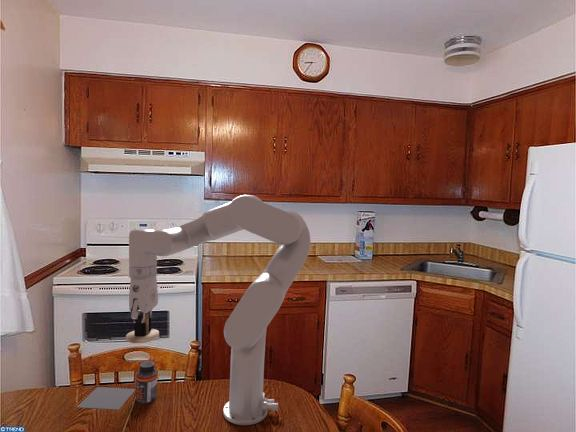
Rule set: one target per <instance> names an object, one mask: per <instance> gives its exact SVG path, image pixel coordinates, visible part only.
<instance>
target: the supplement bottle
mask: <svg viewBox="0 0 576 432" xmlns="http://www.w3.org/2000/svg"><path fill="white" fill-rule="evenodd" d="M135 389H136V390H135V398H134V399H135V402H136V403H137V404H148V403H149V404H150V403H152V402H153V401H154V402H155V400H156V399H157V397H158V396H157V395H158V390H157V389H158V370H157V369H156V368H155V362H154V361H151V360H149V361H148V360H147V361H143V362H141V363H140V364H139V370H138V371H137V372H136V374H135Z"/></svg>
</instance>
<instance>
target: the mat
mask: <svg viewBox="0 0 576 432" xmlns="http://www.w3.org/2000/svg"><path fill="white" fill-rule="evenodd" d="M135 392H136V388H123V387H122V388H121V387H105V386H104V387H103V386H97V387H96V388H94V390H93V391H91V392H90V394H88V395H87V396H86V397H85V398H84V399H83V400H82V401H81V402H80V403H79V404H78V405H77V406H76V408H80V409H82V408H83V409H96V410H97V409H101V410H114V411H115V410H121V408H122V407H123V405H125V404H126V402H127V401H128V400H129V398H130V397H131V396H132V395H133V393H135Z"/></svg>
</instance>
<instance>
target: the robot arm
mask: <svg viewBox="0 0 576 432" xmlns="http://www.w3.org/2000/svg"><path fill="white" fill-rule="evenodd" d="M242 230H245V231H246V232H249V233H251V234H254V235H256V236H259V237H260V238H263V239H265V240H267V241H271V242H272V243H275V244H278V245H279V246H278V247H277V250H276V251H275V253H274V254H273V256H272V257H271V259H270V260H269V262H268V264H267V265H266V266H265V268H264V270H263V271H262V273H260V274H259V276H257V277H256V278H255V279H254V281H253V282H252V283H251V284H250V285H249V286H248V287H247V289H246V291H245V292H244V294H243V295H242V296H241V297H240V300H239V302H238V303H237V304H236V306H235V307H234V309H233V311H232V312H231V314H230V315H229V317H228V318H227V319H226V321H225V324H224V327H223V336H224V340H225V341H226V343H227V345H228V346H229V347H230V348H231V349H230V374H229V394H228V395H229V396H228V397H229V398H228V399H229V401H228V402H226V403H225V404H224V406H223V408H222V409H223V412H222V414H223V417H224V418H225V420H226V421H227V422H230V423H231V424H234V425H238V426H250V425H251V426H252V425H254V424H255V425H256V424H258V423H261V422H262V421H263V420H264V419H265V418H266V417H267V416H268V411H279V402H275V398H267V397H265V394H266V393H265V392H264V375H265V372H264V371H265V357H266V356H265V355H266V353H265V352H266V338H267V328H268V327H269V324H270V323H271V321H272V320H273V319H274V317H275V315H277V312H279V310H280V308H281V306H282V304H283V302H284V300H285V298H286V294H287V292H288V290H289V288H290V287H291V286H292V284H293V282H294V281H295V279H296V278H297V276H298V275H299V273H300V271H301V269H302V268H303V267H304V264H305V262H306V260H307V259H308V256H309V253H310V250H311V233H310V230H309V227H308V225H307V223H306V222H305V219H304V218H303V217H302V216H301V214H299V213H298V212H296V211H293V210H283V209H280V208H278V207H276V206H273V205H271V204H268V203H266V202H263V200H262V199H261V198H259V197H258V196H256V195H253V194H252V195H251V194H243V195H239V196H236V197H234V199H232V201H230V202H227V203H225V204H223V205H220V206H217V207H214V208H212V209H211V208H210V209H209V210H207V211H205V212H204V213H203V214H202V215H201V216H199V217H198V218H197V219H194V220H192V221H190V222H186V223H184V224H181V225H178V226H177V227H171V228H164V229H160V230H155V229H151V228H136V229H131V230H130V231H129V234H128V278H130V283H129V293H128V294H129V298H128V299H129V300H128V307H129V312H130V313H131V314H130V318H131V319H132V320H133V323H134V326H133V327H134V330H133V331H134V335H135V336H146V322H145V313H147V312H148V313H149V332H150V331H151V329H152V316H153V311H152V310H153V309H154V308H156V307H157V305H158V304H159V297H158V296H159V294H158V279H157V276H158V273H157V270H158V268H157V267H158V262H157V261H158V260H157V259H158V258H157V257H168V256H172V255H174V254H177V253H180V252H183V251H186V250H189V249H191V248H194V247H196V246H198V245H201V244H205V243H207V242H211V241H216V240H219V239H222V238H224V237H228V236H229V235H233V234H235V233H237V232H239V231H242ZM138 314H142V317H141V316H140V315H138Z"/></svg>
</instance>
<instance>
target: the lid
mask: <svg viewBox="0 0 576 432" xmlns="http://www.w3.org/2000/svg"><path fill="white" fill-rule="evenodd" d="M138 315H140V316H141V317H142V314H138ZM145 322H146V336H135V335H134V330H133V331H132V330H131V331H130V332H128V333H127V334H126V335H125V341H126V342H128V343H129V344H145V343H150V342H152V341H156V340H157V339H159V338H160V331H159V330H158V329H155V328H151V331H150V332H149V313H148V312H147V313H145Z"/></svg>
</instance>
